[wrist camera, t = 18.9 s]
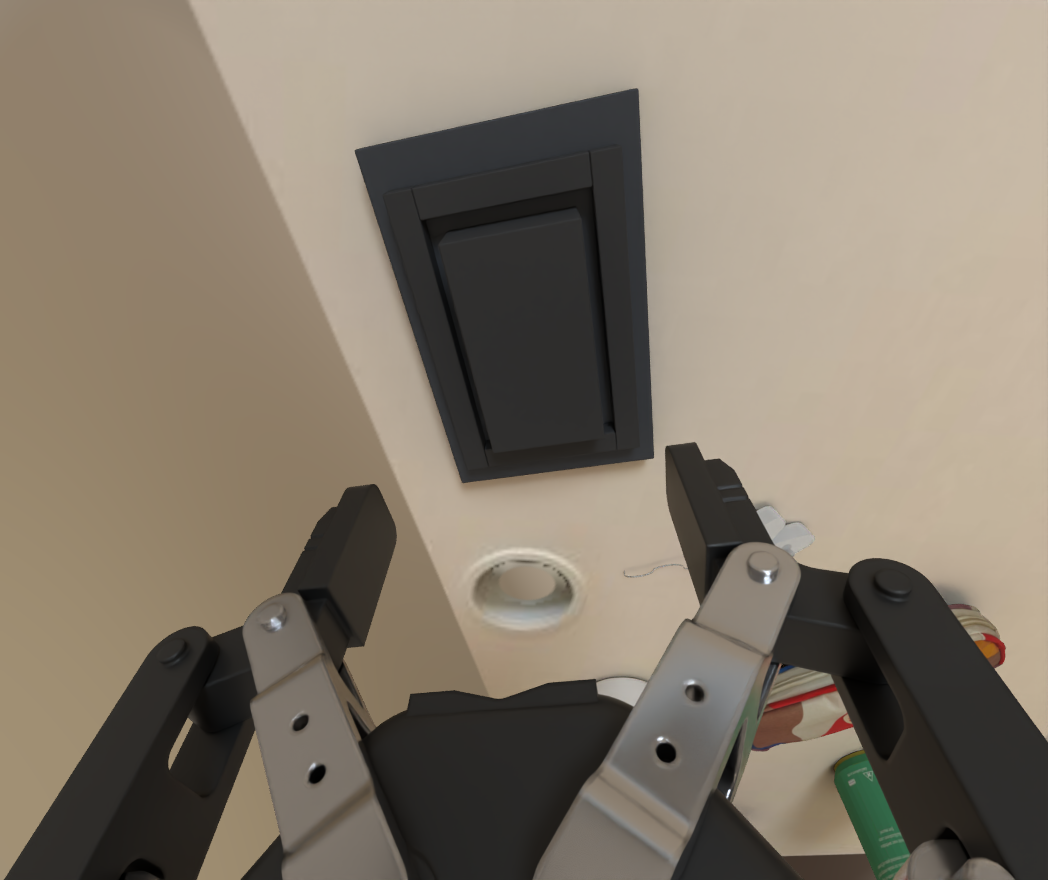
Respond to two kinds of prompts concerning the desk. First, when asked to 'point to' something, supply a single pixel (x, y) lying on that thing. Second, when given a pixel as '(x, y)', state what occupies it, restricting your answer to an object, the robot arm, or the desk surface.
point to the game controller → (779, 533)
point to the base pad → (509, 192)
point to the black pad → (527, 327)
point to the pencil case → (815, 705)
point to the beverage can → (870, 815)
